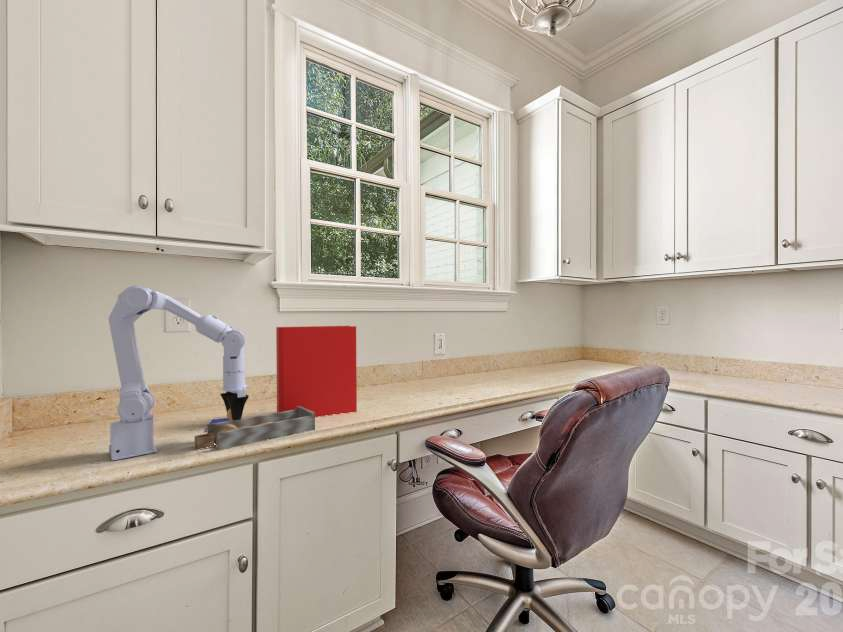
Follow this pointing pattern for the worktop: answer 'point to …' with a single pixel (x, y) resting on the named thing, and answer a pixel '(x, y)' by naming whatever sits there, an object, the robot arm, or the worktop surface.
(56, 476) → the worktop surface
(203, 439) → the brown wooden crate
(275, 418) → the lane
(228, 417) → the ball
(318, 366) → the book
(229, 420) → the hard drive
